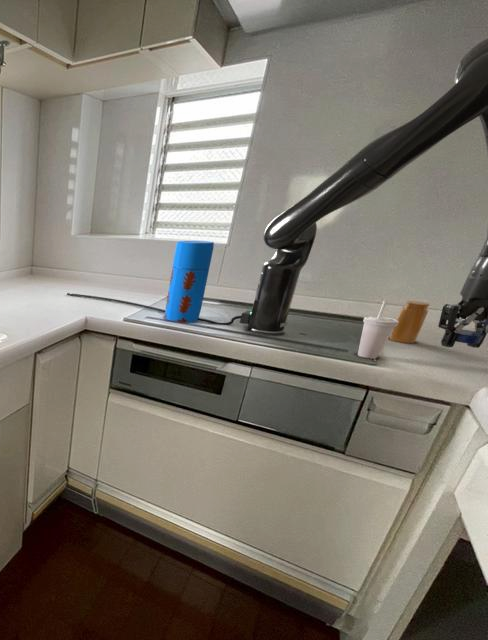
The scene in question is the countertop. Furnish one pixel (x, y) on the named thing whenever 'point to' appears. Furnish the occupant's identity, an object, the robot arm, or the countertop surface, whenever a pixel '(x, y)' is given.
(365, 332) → the smoothie
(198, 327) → the countertop surface
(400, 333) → the jam jar
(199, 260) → the thermos
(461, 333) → the jam lid
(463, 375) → the countertop surface
